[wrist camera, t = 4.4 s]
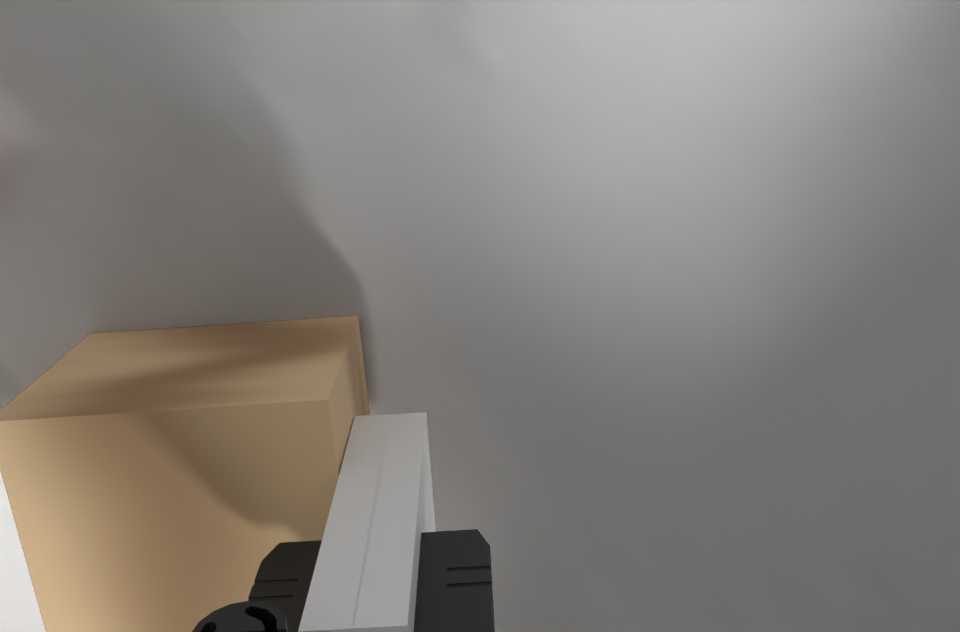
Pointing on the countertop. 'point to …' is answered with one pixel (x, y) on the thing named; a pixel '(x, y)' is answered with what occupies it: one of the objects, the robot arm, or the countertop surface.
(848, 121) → the countertop surface
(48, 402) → the oak block
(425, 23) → the countertop surface
